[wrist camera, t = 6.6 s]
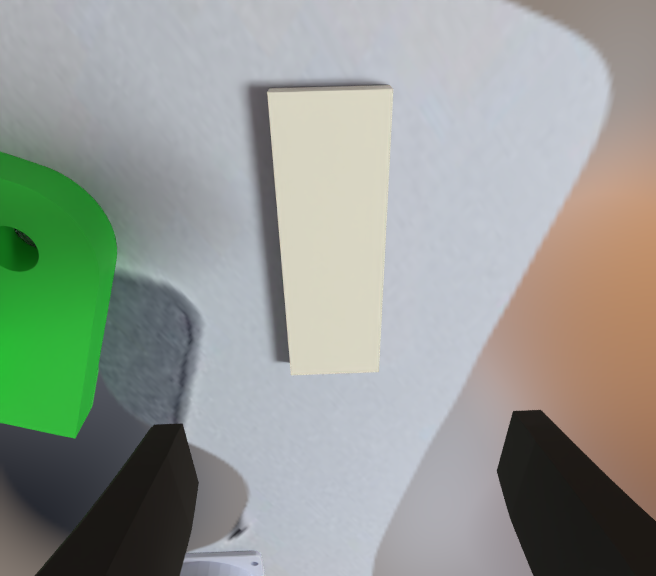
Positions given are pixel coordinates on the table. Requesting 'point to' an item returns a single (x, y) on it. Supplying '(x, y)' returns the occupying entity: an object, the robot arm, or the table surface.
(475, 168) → the table surface
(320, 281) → the plate
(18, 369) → the mechanical part
